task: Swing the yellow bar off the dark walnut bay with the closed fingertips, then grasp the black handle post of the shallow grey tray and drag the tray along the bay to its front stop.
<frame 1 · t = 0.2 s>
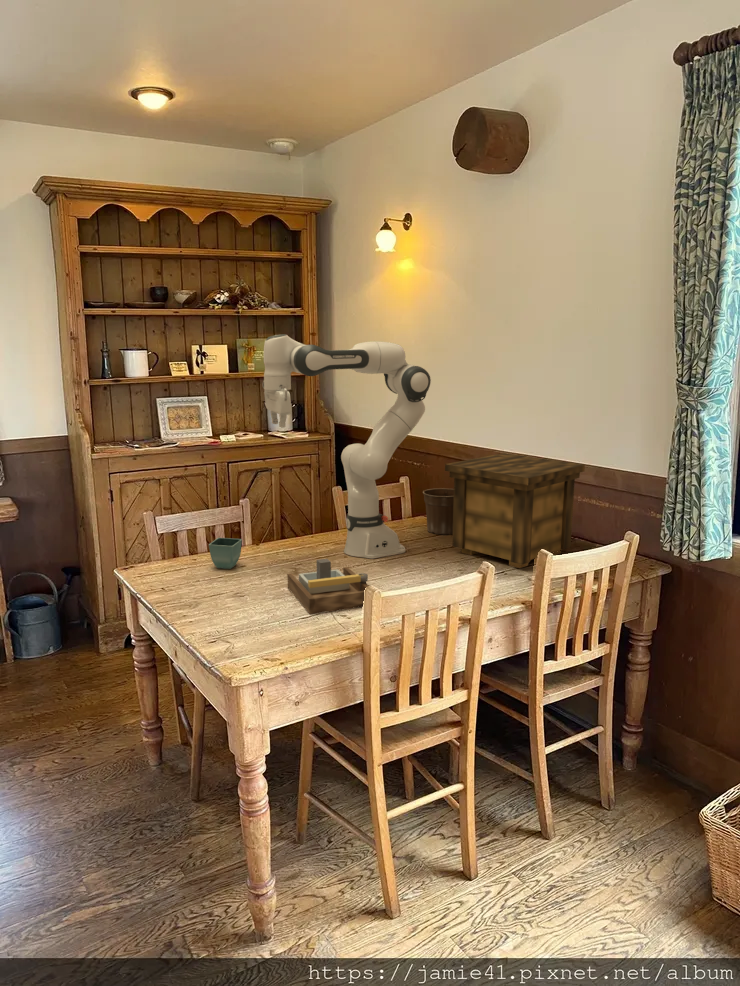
hand: (278, 425, 254), 48 cm above the table, fingers open, 8 cm apart
crate 2: (511, 553, 275), on the table
shallow grey tray: (323, 573, 234), point 5 cm above the table, slide at 0.0 cm
yellow bar: (338, 580, 226), point 6 cm above the table, hinge at 0.0°
flower pot: (226, 567, 258), on the table
plant pot: (442, 531, 304), on the table
bay: (329, 596, 230), on the table
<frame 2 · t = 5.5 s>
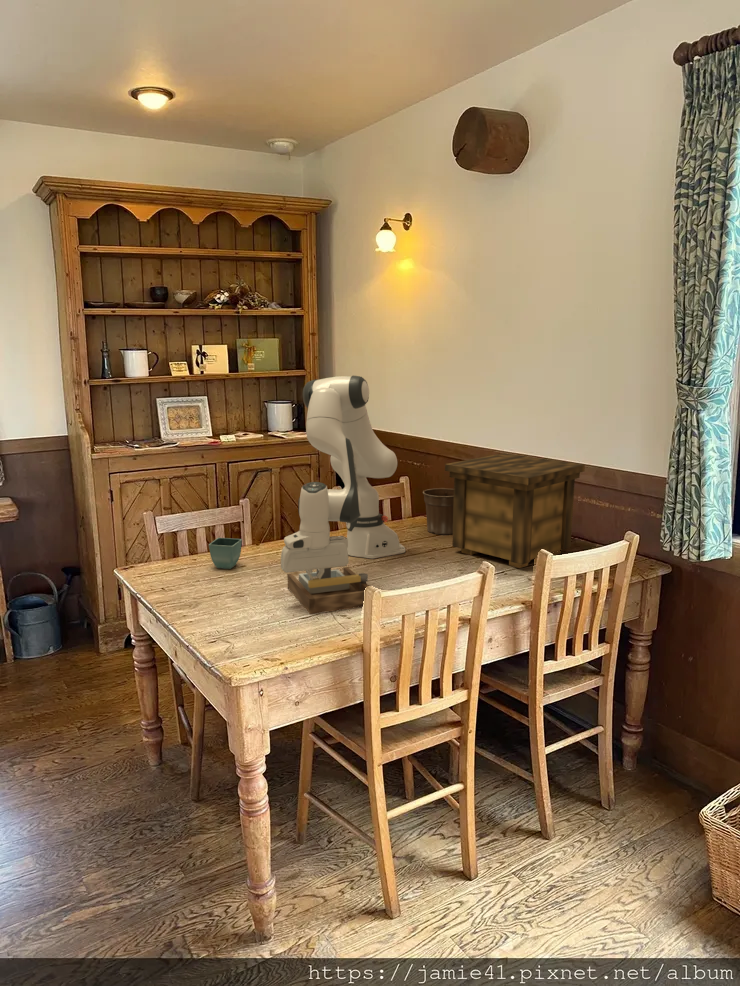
hand: (315, 582, 225), 6 cm above the table, fingers closed, pressing on yellow bar
yellow bar: (338, 580, 226), point 6 cm above the table, hinge at 0.5°, touching gripper
everything else where it was.
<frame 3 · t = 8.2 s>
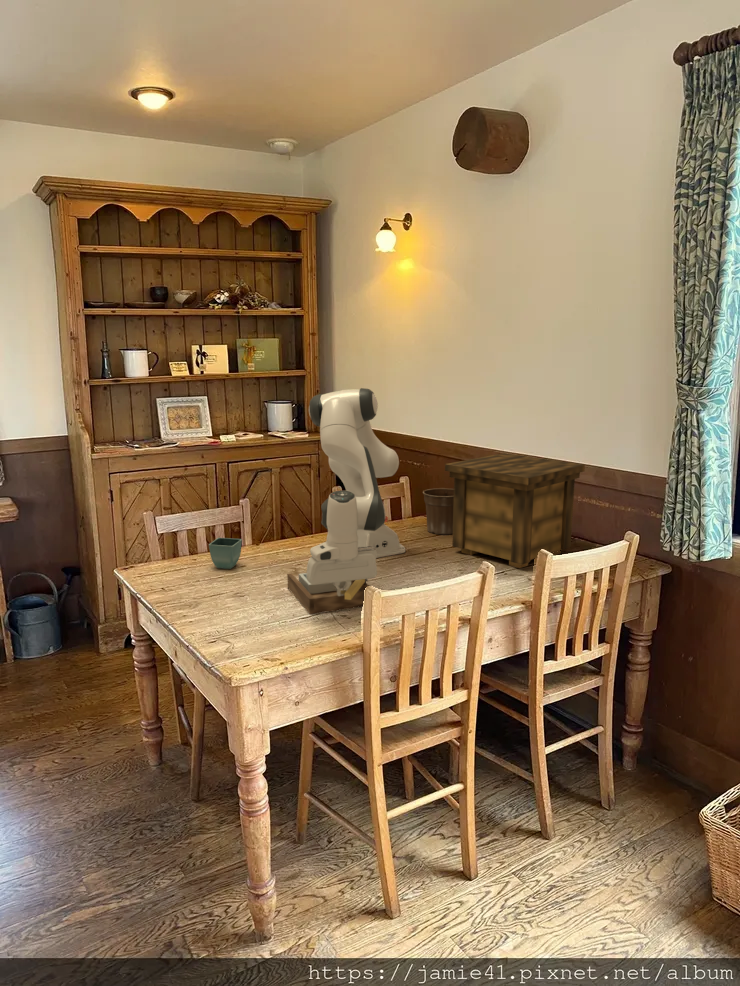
hand: (342, 595, 216), 5 cm above the table, fingers closed
yellow bar: (356, 585, 221), point 6 cm above the table, hinge at 54.8°, touching gripper
everything else where it was.
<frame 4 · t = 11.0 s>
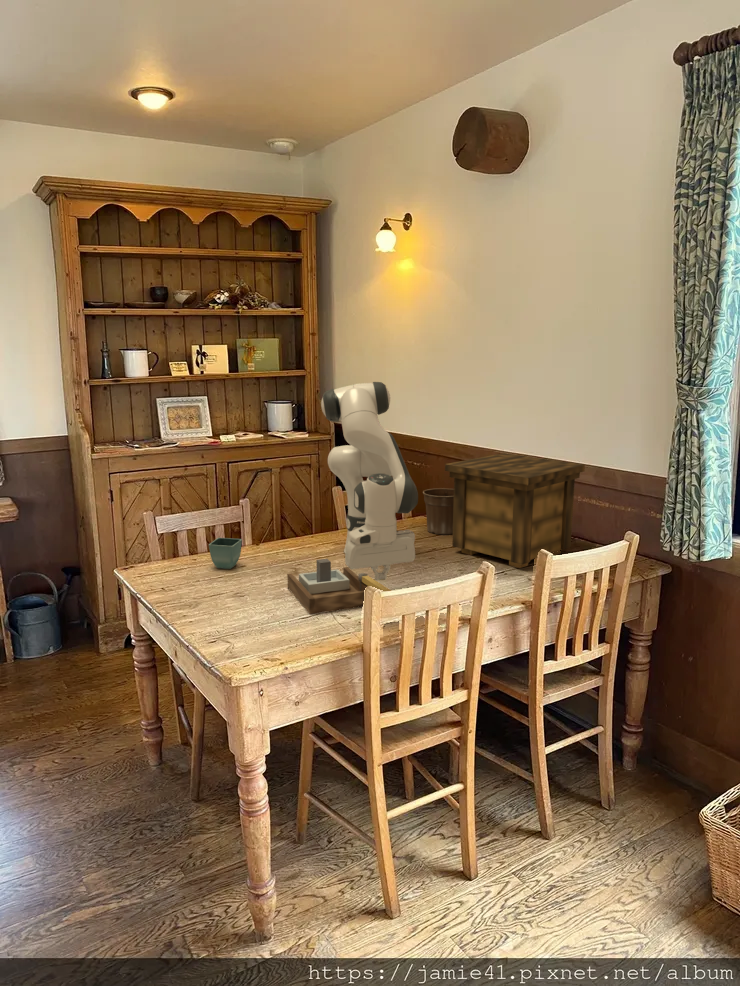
hand: (380, 579, 214), 10 cm above the table, fingers closed
yellow bar: (374, 585, 222), point 6 cm above the table, hinge at 96.1°
everything else where it was.
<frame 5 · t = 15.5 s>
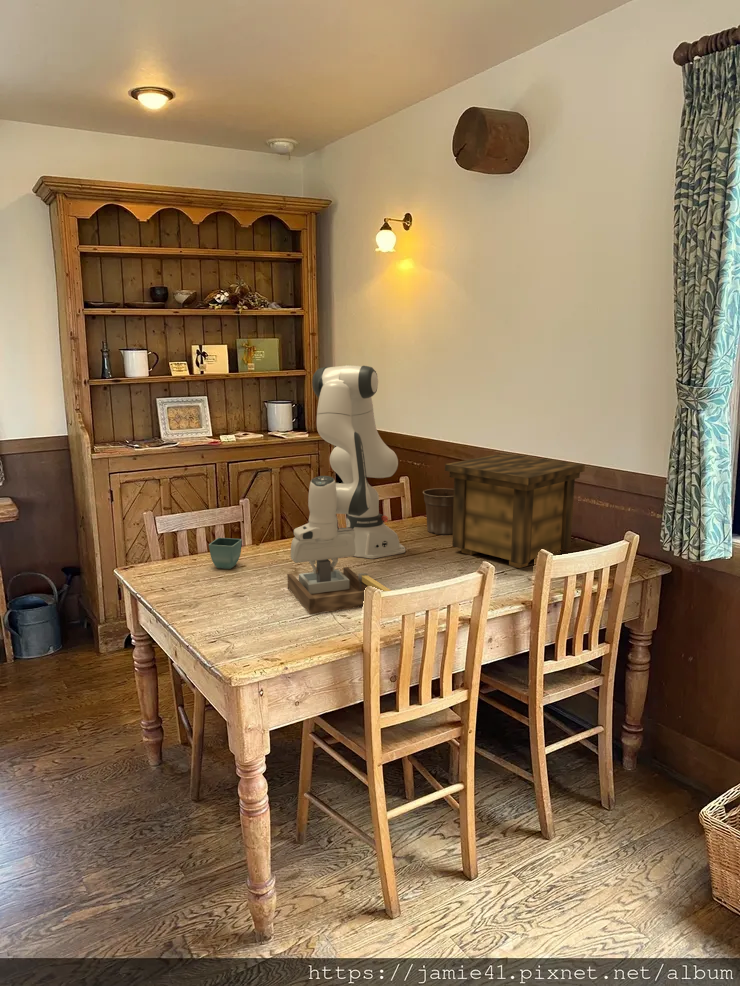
hand: (323, 572, 234), 6 cm above the table, fingers closed on shallow grey tray, 3 cm apart
shallow grey tray: (323, 573, 234), point 5 cm above the table, slide at 0.0 cm, touching gripper
everything else where it was.
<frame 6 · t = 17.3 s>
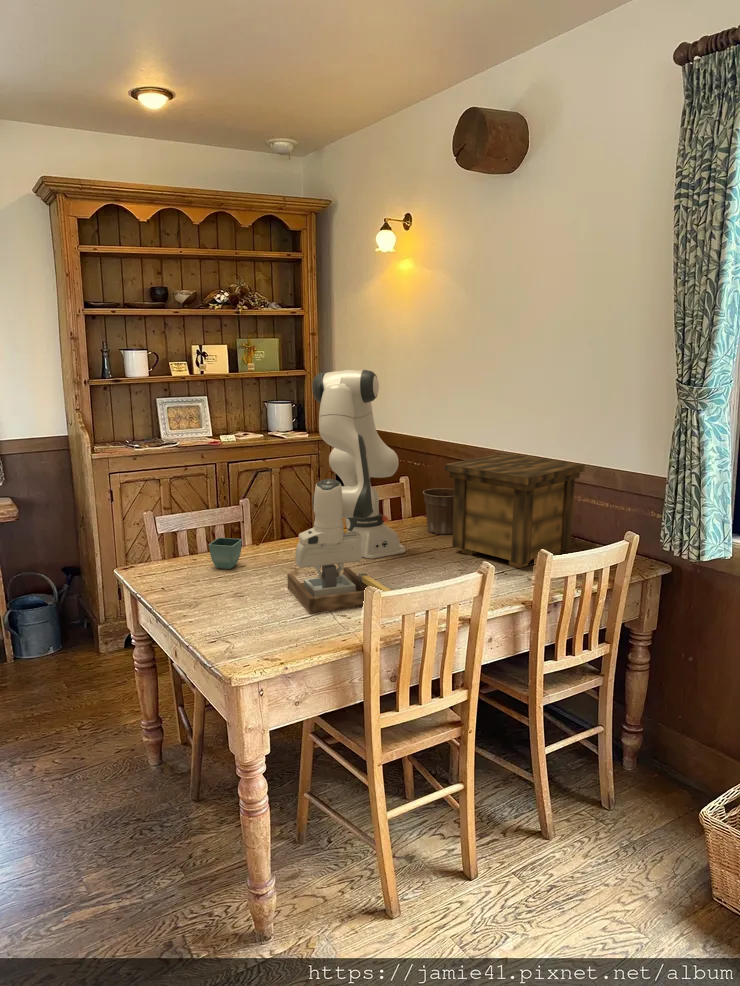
hand: (329, 578, 229), 6 cm above the table, fingers closed on shallow grey tray, 3 cm apart
shallow grey tray: (329, 578, 229), point 5 cm above the table, slide at 5.6 cm, touching gripper
everything else where it was.
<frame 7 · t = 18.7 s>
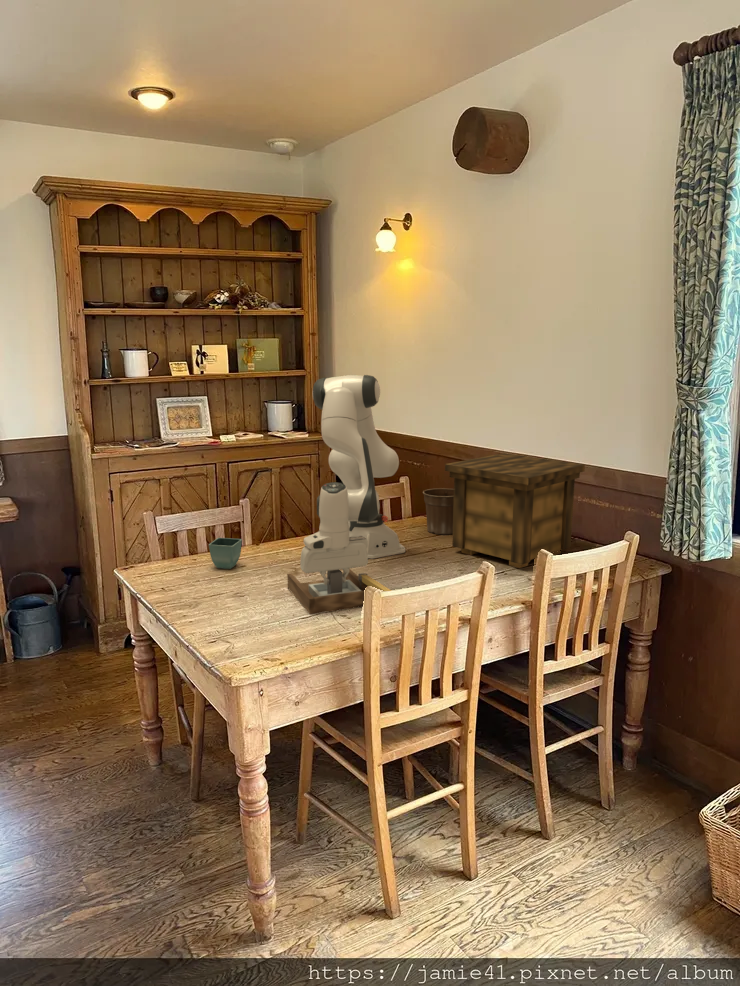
hand: (334, 583, 225), 6 cm above the table, fingers closed on shallow grey tray, 3 cm apart
shallow grey tray: (334, 584, 225), point 5 cm above the table, slide at 10.8 cm, touching gripper
everything else where it was.
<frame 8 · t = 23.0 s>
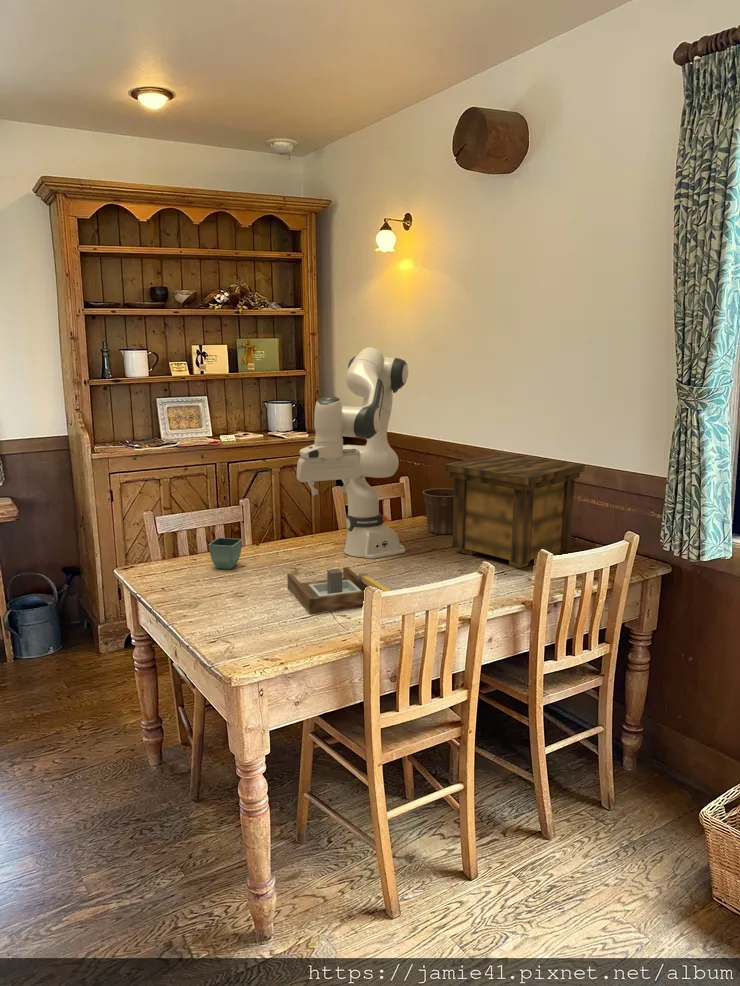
hand: (329, 493, 236), 29 cm above the table, fingers open, 8 cm apart
shallow grey tray: (334, 584, 225), point 5 cm above the table, slide at 10.8 cm
everything else where it was.
at the end: shallow grey tray slide at 10.8 cm; yellow bar at +96° (first picture: +0°); the gripper is holding nothing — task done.
